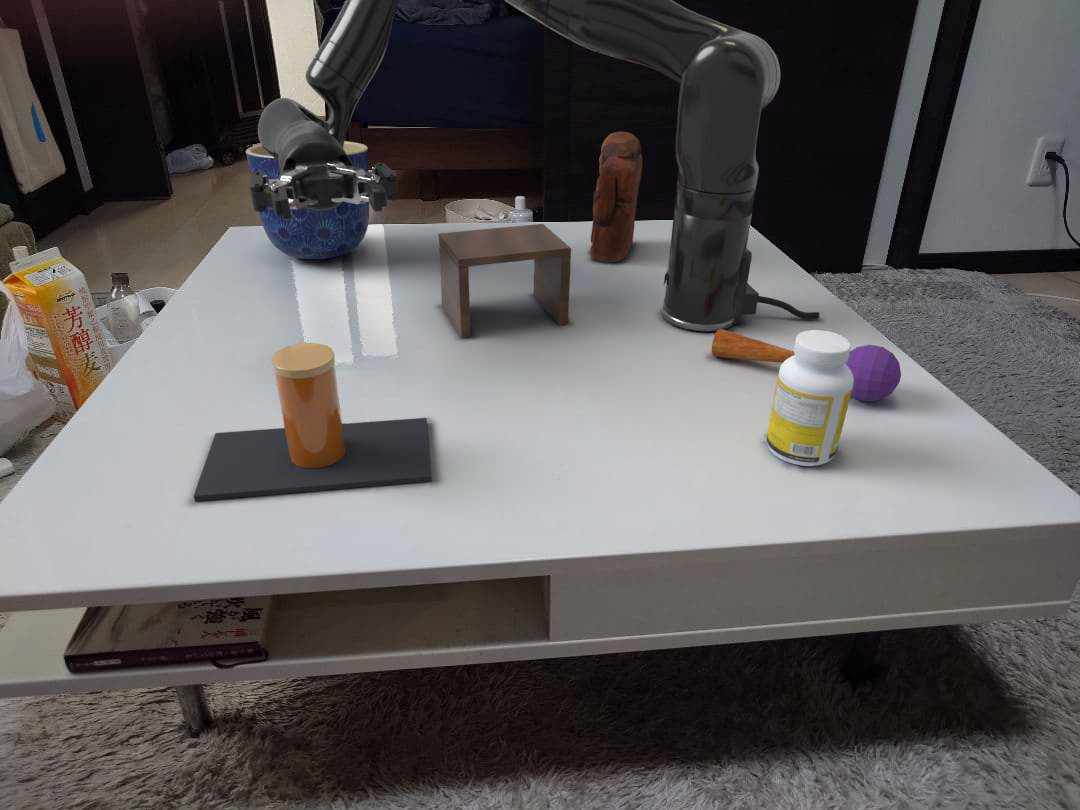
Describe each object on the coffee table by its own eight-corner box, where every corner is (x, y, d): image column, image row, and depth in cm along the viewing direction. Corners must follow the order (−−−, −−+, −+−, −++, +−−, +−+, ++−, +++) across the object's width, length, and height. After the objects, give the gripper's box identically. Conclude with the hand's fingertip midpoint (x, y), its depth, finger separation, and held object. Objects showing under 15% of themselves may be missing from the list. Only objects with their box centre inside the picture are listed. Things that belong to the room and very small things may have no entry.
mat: (426, 422, 77) (426, 417, 77) (431, 481, 69) (431, 475, 68) (216, 438, 74) (215, 432, 74) (194, 501, 66) (193, 495, 65)
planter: (290, 274, 107) (275, 161, 100) (244, 249, 119) (227, 146, 112) (397, 254, 117) (389, 149, 110) (344, 233, 129) (334, 137, 122)
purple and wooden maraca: (730, 313, 92) (910, 346, 81) (723, 362, 94) (898, 399, 83) (710, 321, 87) (900, 356, 77) (704, 372, 89) (887, 413, 79)
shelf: (541, 294, 106) (543, 223, 101) (568, 323, 98) (571, 247, 93) (441, 307, 102) (438, 233, 97) (461, 338, 94) (458, 259, 89)
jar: (348, 435, 74) (336, 341, 69) (345, 466, 69) (332, 368, 64) (291, 439, 73) (275, 344, 68) (285, 471, 68) (267, 372, 63)
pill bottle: (821, 431, 77) (846, 325, 71) (845, 469, 71) (875, 357, 65) (756, 432, 77) (776, 325, 71) (775, 469, 71) (799, 357, 65)
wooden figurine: (599, 238, 127) (606, 124, 118) (637, 242, 126) (647, 127, 117) (584, 262, 117) (590, 139, 108) (625, 266, 116) (635, 143, 107)
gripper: (241, 135, 82) (246, 170, 69) (375, 128, 86) (404, 159, 73) (253, 205, 86) (261, 251, 73) (381, 195, 90) (410, 236, 77)
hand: (332, 205), depth 73 cm, fingers open, 8 cm apart
